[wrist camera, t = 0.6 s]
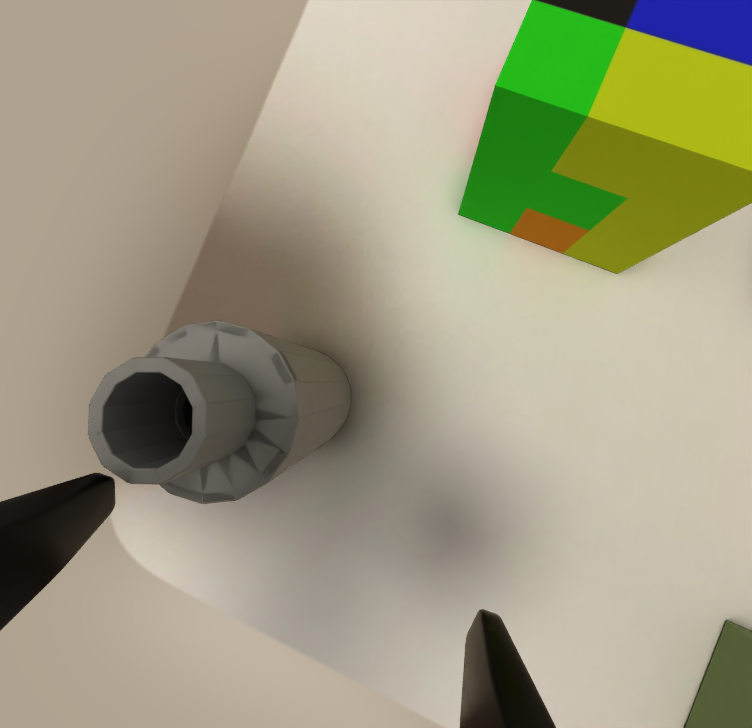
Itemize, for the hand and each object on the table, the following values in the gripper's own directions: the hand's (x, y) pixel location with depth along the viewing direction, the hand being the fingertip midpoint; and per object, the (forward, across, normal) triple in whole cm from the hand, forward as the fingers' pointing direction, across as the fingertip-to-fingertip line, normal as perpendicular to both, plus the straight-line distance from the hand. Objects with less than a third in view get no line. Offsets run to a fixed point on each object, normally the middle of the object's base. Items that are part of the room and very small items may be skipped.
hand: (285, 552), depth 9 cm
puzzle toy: (+21, -7, -13) cm, 26 cm away
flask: (+14, +4, +4) cm, 15 cm away
